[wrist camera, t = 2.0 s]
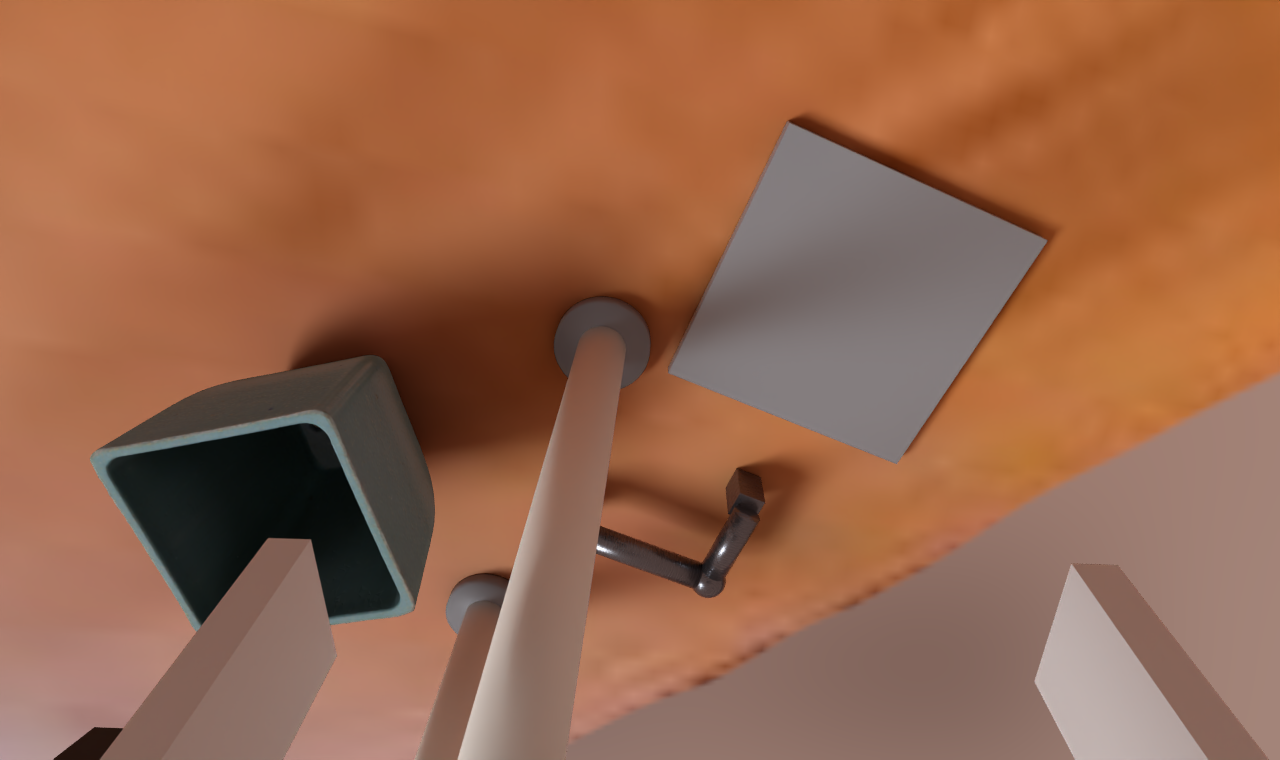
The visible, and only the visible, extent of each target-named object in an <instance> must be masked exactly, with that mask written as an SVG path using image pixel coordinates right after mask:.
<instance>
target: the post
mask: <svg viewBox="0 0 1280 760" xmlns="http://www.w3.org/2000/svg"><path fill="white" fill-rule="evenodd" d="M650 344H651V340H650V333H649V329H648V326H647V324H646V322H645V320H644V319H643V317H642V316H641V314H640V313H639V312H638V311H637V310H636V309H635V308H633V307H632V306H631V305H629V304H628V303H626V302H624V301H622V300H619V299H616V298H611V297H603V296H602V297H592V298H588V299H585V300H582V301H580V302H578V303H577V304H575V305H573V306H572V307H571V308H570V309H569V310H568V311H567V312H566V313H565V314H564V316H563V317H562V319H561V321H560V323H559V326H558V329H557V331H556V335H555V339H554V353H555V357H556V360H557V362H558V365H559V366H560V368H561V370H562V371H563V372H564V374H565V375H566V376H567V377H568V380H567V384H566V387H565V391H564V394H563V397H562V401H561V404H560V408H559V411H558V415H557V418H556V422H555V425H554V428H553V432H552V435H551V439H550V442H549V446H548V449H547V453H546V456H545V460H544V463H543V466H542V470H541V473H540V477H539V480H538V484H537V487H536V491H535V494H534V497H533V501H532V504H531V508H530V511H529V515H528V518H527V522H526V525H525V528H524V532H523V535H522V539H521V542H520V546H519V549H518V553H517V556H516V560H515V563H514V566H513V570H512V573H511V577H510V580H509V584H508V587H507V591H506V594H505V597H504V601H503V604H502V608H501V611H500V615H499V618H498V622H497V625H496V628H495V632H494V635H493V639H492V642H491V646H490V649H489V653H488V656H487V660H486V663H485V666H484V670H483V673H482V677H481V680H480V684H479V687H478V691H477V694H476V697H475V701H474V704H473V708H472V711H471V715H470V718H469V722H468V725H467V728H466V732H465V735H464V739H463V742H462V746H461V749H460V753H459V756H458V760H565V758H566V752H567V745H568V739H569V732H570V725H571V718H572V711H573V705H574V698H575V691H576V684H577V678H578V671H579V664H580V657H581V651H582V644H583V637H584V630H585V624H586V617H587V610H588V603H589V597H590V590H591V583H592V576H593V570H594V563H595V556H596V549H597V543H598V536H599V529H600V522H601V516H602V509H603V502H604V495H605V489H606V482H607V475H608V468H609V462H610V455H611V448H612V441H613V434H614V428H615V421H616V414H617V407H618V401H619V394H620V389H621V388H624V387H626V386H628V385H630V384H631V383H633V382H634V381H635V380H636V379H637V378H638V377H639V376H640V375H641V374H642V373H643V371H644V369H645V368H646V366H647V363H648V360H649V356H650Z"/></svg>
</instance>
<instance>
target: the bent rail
mask: <svg viewBox="0 0 1280 760" xmlns="http://www.w3.org/2000/svg"><path fill="white" fill-rule="evenodd" d="M726 497H727V508H728V514H730V516H729V518H728V520H727V521H726V523H725V525H724V526H723V528H722V530H721V532H720V533H719V535H718V537H717V539H716V540H715V542H714V544H713V545H712V547H711V549H710V551H709V552H708V554H707V556H706V557H705V559H704V561H703V562H702V563H701V562H698V561H695V560H692V559H690V558H687V557H684V556H681V555H679V554H676V553H673V552H670V551H668V550H665V549H662V548H659V547H657V546H654V545H651V544H649V543H646V542H643V541H640V540H638V539H635V538H632V537H629V536H627V535H624V534H621V533H618V532H616V531H613V530H610V529H607V528H605V527H602V526H600V529H599V536H598V543H597V549H596V554H598V555H601V556H604V557H607V558H610V559H612V560H615V561H618V562H621V563H623V564H626V565H629V566H632V567H635V568H637V569H640V570H643V571H646V572H648V573H651V574H654V575H657V576H660V577H662V578H665V579H668V580H671V581H673V582H676V583H679V584H682V585H685V586H687V587H690V588H693V589H694V591H695V592H696V593H697V594H698V595H700V596H702V597H705V598H712V597H715V596H717V595H719V594H720V593H721V592H722V591H723V589H724V587H725V584H726V575H727V574H728V572H729V570H730V569H731V567H732V566H733V564H734V562H735V561H736V559H737V557H738V556H739V554H740V552H741V551H742V549H743V547H744V546H745V544H746V542H747V541H748V539H749V537H750V536H751V534H752V532H753V531H754V529H755V527H756V526H757V524H758V522H759V521H760V518H759V515H758V514H759V512H760V510H761V509H762V507H763V505H764V504H765V499H764V494H763V488H762V482H761V477H759V476H756V475H754V474H751V473H748V472H746V471H743V470H741V469H738V468H737V469H736V471H735V472H734V474H733V476H732V478H731V480H730V481H729V483H728V485H727V487H726Z"/></svg>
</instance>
